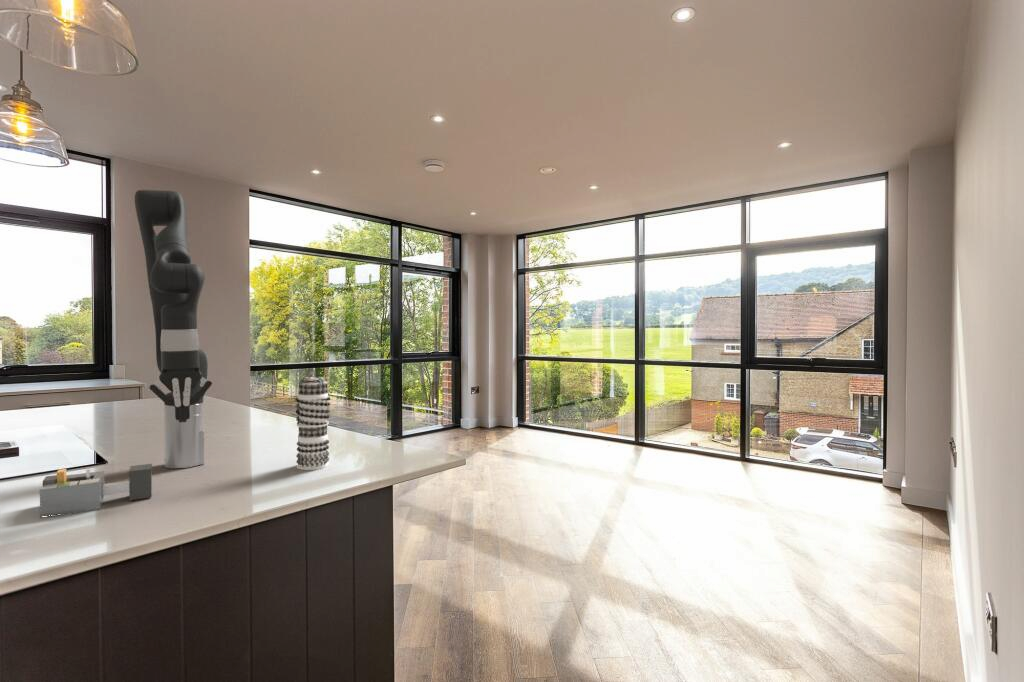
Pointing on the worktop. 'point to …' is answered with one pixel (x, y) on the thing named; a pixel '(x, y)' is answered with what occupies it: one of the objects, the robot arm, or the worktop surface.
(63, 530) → the worktop surface
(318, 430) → the decorative candle
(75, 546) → the worktop surface
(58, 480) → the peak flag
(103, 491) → the dark cube on shaft
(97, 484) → the gauge housing
